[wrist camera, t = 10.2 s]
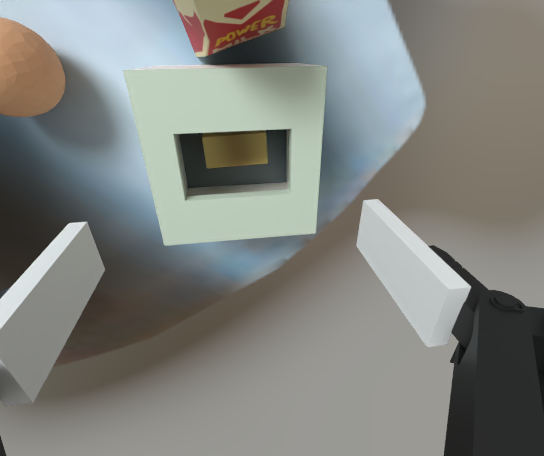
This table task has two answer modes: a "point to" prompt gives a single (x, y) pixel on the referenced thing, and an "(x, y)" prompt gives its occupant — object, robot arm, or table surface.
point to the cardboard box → (235, 148)
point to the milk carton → (229, 21)
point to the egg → (27, 72)
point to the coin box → (225, 118)
